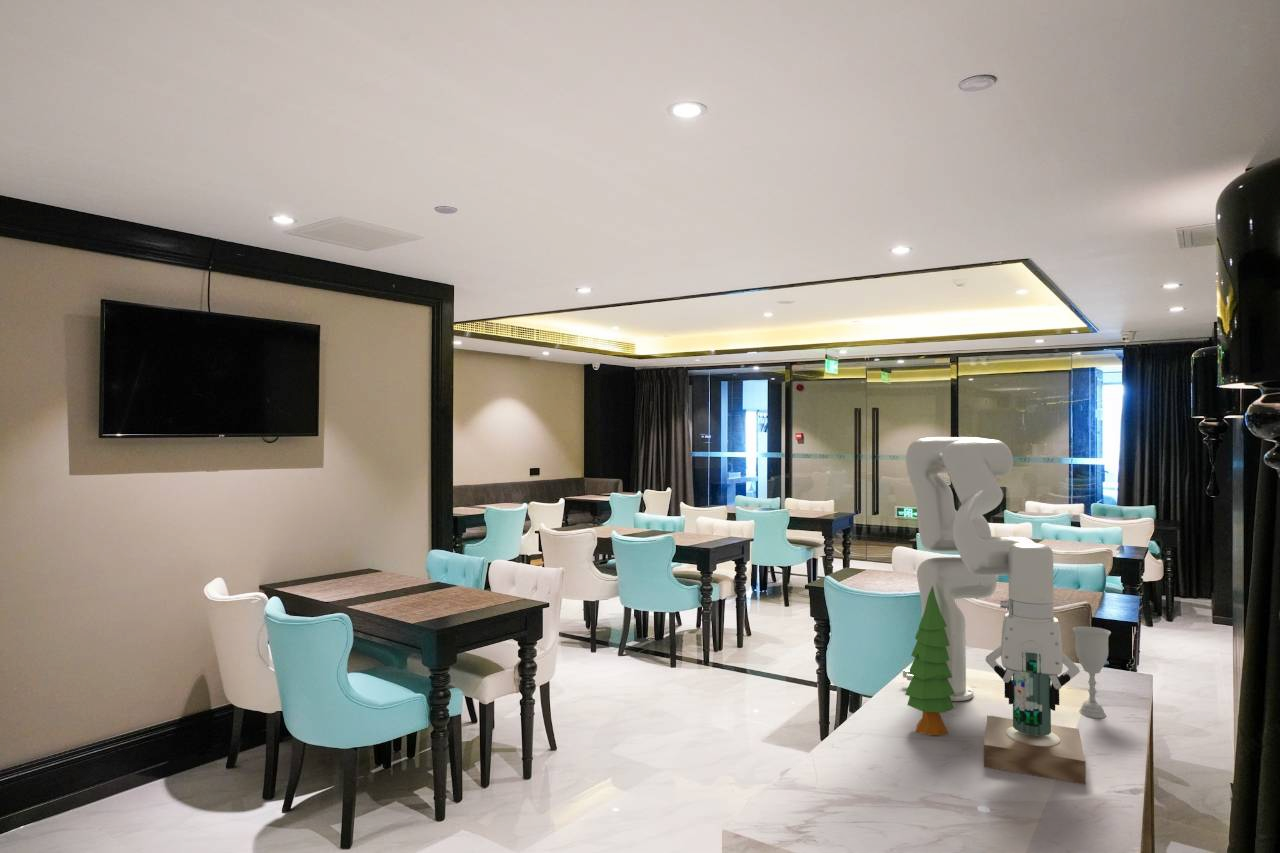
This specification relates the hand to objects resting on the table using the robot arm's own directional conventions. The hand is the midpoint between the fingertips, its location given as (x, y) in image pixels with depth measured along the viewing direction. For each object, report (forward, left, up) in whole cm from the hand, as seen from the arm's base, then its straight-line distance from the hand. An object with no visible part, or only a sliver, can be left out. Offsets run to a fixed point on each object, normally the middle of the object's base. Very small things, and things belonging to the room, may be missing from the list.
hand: (1031, 704), depth 141 cm
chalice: (+12, +31, -10) cm, 35 cm away
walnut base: (0, 0, -10) cm, 10 cm away
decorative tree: (-19, +6, -10) cm, 22 cm away
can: (0, 0, -5) cm, 5 cm away
